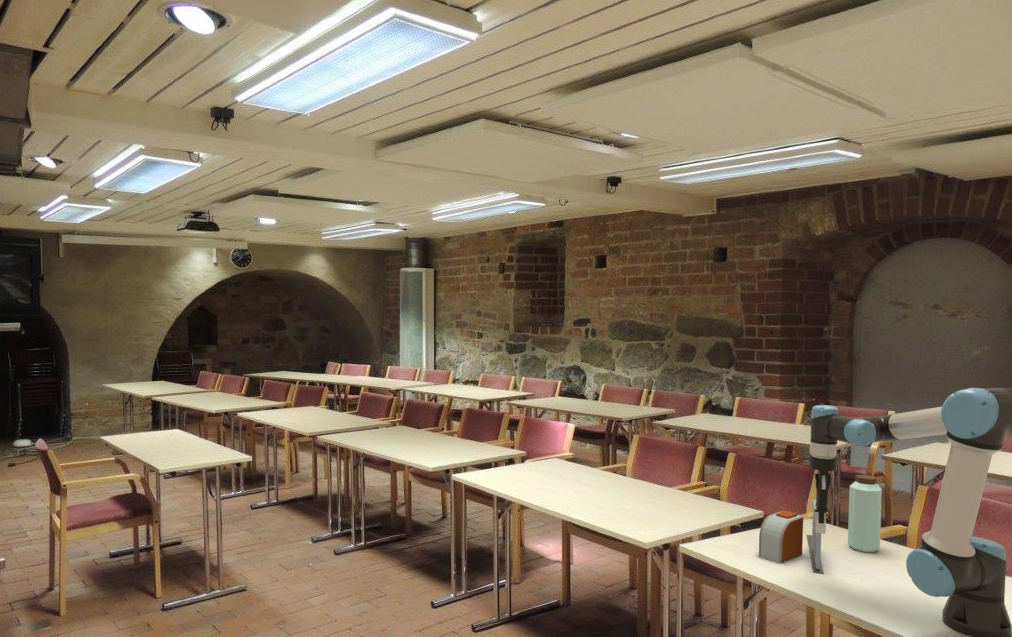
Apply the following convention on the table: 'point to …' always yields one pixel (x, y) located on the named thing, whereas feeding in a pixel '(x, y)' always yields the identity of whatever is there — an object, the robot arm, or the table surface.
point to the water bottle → (864, 514)
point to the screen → (816, 539)
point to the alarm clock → (781, 536)
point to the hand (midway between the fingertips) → (820, 532)
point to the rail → (809, 538)
